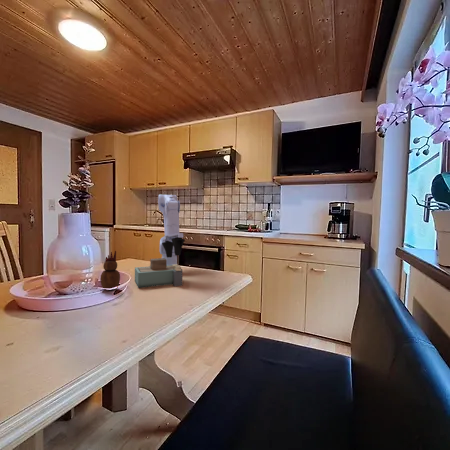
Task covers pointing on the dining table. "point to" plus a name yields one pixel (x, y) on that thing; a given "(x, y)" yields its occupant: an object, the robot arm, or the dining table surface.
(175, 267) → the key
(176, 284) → the green rectangular open box
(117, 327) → the dining table surface
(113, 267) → the wooden figurine
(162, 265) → the lid
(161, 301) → the dining table surface
